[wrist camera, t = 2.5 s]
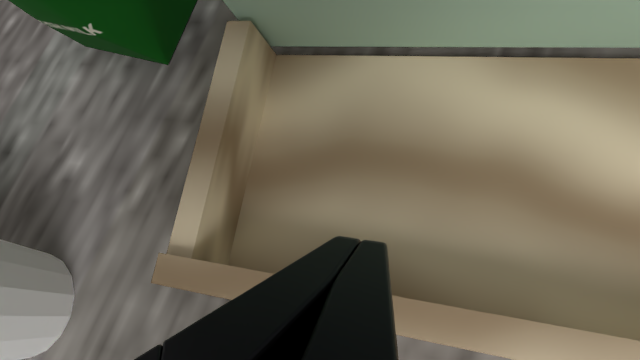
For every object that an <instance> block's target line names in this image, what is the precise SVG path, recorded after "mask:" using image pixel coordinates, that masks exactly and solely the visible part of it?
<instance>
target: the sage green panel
mask: <svg viewBox="0 0 640 360" xmlns="http://www.w3.org/2000/svg"><path fill="white" fill-rule="evenodd" d="M223 1H224V3H225V4H226V5H227V6H228V8H229V9H230V10H231V11H232V13H233V14H234V15H235V17H236V18H237V19H238V20H239V21H251V22H252V23H253V25H254V26H255V27H256V29H257V30H258V31H259V33H260V34H261V35H262V37H263V38H264V39H265V40H266V42H267V43H268V44H269V46H298V47H597V48H640V0H223Z"/></svg>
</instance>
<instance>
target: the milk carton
mask: <svg viewBox="0 0 640 360" xmlns="http://www.w3.org/2000/svg"><path fill="white" fill-rule="evenodd" d="M9 1H10V2H12V3H13V4H15V5H16V6H18V7H19V8H21V9H22V10H23V11H25V12H26V13H28V14H29V15H31V16H32V17H34V18H35V19H37V20H39V21H40V22H42V23H44V24H46V25H47V26H49V27H51V28H53V29H55V30H57V31H59V32H60V33H62V34H64V35H66V36H68V37H70V38H71V39H73V40H75V41H77V42H79V43H81V44H82V45H84V46H86V47H91V48H95V49H100V50H104V51H108V52H113V53H117V54H122V55H126V56H131V57H135V58H140V59H144V60H148V61H153V62H157V63H162V64H166V65H168V64H169V62H170V60H171V58H172V55H173V53H174V51H175V49H176V46H177V44H178V42H179V40H180V38H181V35H182V33H183V31H184V29H185V26H186V24H187V22H188V20H189V17H190V15H191V13H192V11H193V9H194V6H195V4H196V2H197V0H9Z"/></svg>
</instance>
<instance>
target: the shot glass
mask: <svg viewBox="0 0 640 360" xmlns="http://www.w3.org/2000/svg"><path fill="white" fill-rule="evenodd" d="M74 296H75V294H74V287H73V280H72V275H71V274H70V272H69V270H68V268H67V267H66V265H65V263H64V262H63V261H62V260H60V259H58V258H56V257H55V256H53V255H51V254H49V253H45V252H42V251H39V250H35V249H32V248H28V247H25V246H21V245H18V244H15V243H11V242H8V241H4V240H1V239H0V360H21V359H26V358H31V357H33V356H36V355H38V354H40V353H42V352H45V351H47V350H48V349H49V348H50V347H51V346H52V345H53V344H54V343H55V342H56V341H57V340H58V339H59V338H60V337H61V335H62V333H63V331H64V329H65V327H66V325H67V323H68V321H69V319H70V317H71V313H72V307H73V302H74Z"/></svg>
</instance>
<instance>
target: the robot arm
mask: <svg viewBox="0 0 640 360" xmlns="http://www.w3.org/2000/svg"><path fill="white" fill-rule="evenodd" d="M134 360H398V349H397V339H396V329H395V319H394V309H393V299H392V289H391V279H390V268H389V258H388V248H387V245H386V243H384V242H379V241H372V240H363V241H360V240H359V239H357V238H351V237H344V236H336V237H334V238H332V239H331V240H329V241H327V242H326V243H324V244H323V245H321V246H319V247H318V248H316V249H314V250H313V251H311V252H309V253H308V254H306V255H305V256H303V257H301V258H300V259H298V260H296V261H295V262H293V263H291V264H290V265H288V266H287V267H285V268H283V269H282V270H280V271H278V272H277V273H275V274H274V275H272V276H270V277H269V278H267V279H265V280H264V281H262V282H260V283H259V284H257V285H256V286H254V287H252V288H251V289H249V290H247V291H246V292H244V293H242V294H241V295H239V296H238V297H236V298H234V299H233V300H231V301H229V302H228V303H226V304H225V305H223V306H221V307H220V308H218V309H216V310H215V311H213V312H211V313H210V314H208V315H207V316H205V317H203V318H202V319H200V320H198V321H197V322H195V323H194V324H192V325H190V326H189V327H187V328H185V329H184V330H182V331H180V332H179V333H177V334H176V335H174V336H172V337H171V338H169V339H167V340H166V341H164V343H163V346H162V345H157V346H156V347H154V348H152V349H151V350H149V351H147V352H146V353H144V354H143V355H141V356H139V357H138V358H136V359H134Z"/></svg>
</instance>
